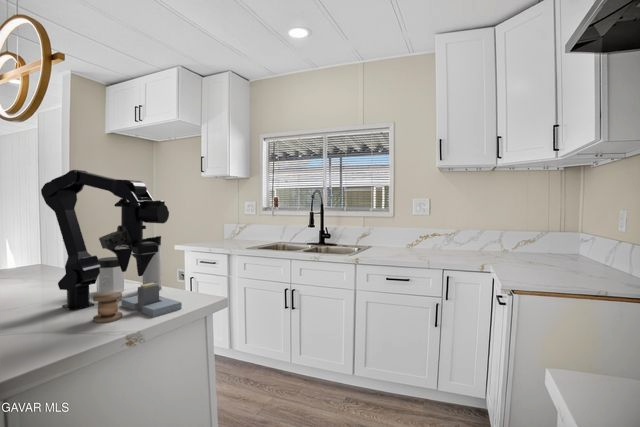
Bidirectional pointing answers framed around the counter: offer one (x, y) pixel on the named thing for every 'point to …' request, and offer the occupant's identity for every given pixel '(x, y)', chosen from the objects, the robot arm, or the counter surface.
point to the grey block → (147, 295)
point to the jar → (110, 276)
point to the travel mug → (154, 265)
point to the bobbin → (107, 307)
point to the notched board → (153, 305)
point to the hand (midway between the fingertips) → (131, 273)
